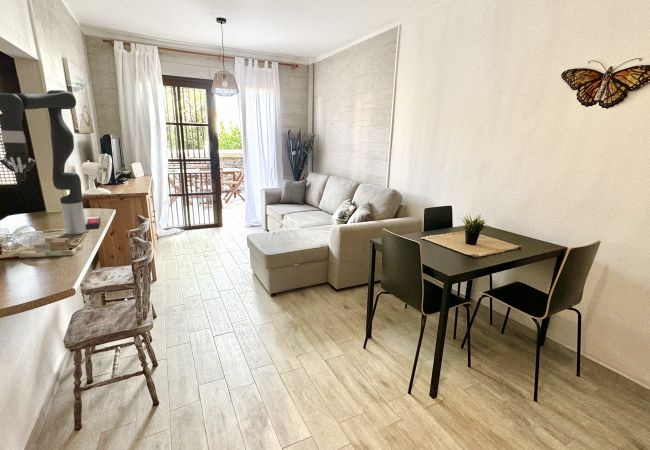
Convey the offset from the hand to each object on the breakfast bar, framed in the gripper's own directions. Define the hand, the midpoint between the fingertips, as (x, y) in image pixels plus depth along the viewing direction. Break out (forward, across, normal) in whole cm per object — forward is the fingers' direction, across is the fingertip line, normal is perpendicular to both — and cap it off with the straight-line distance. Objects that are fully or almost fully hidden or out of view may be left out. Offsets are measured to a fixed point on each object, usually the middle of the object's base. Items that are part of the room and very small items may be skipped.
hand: (22, 180), depth 146 cm
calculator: (+33, -9, -39) cm, 51 cm away
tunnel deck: (+32, -11, +10) cm, 35 cm away
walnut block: (+30, -15, +10) cm, 35 cm away
